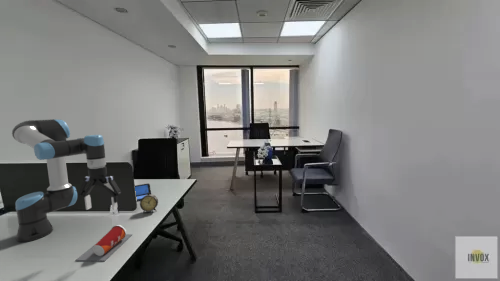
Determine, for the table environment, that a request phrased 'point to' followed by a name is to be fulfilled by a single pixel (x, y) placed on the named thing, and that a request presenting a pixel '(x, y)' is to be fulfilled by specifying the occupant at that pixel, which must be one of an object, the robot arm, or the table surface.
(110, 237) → the coffee cup
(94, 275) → the table surface
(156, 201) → the alarm clock
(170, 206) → the table surface
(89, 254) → the mat
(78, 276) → the table surface
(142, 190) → the handheld game console
